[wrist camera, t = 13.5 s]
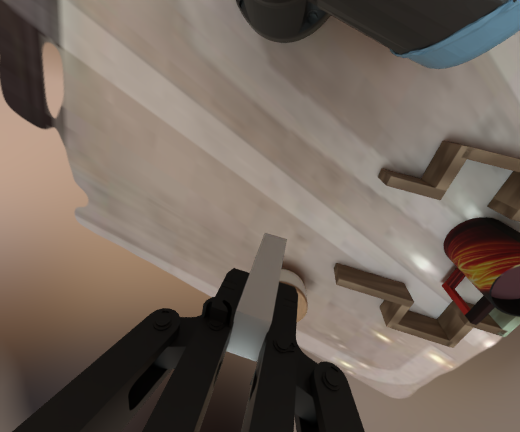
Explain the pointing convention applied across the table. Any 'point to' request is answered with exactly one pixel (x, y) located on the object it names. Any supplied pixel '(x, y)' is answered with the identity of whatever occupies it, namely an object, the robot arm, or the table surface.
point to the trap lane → (395, 293)
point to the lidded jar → (295, 281)
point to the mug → (485, 266)
